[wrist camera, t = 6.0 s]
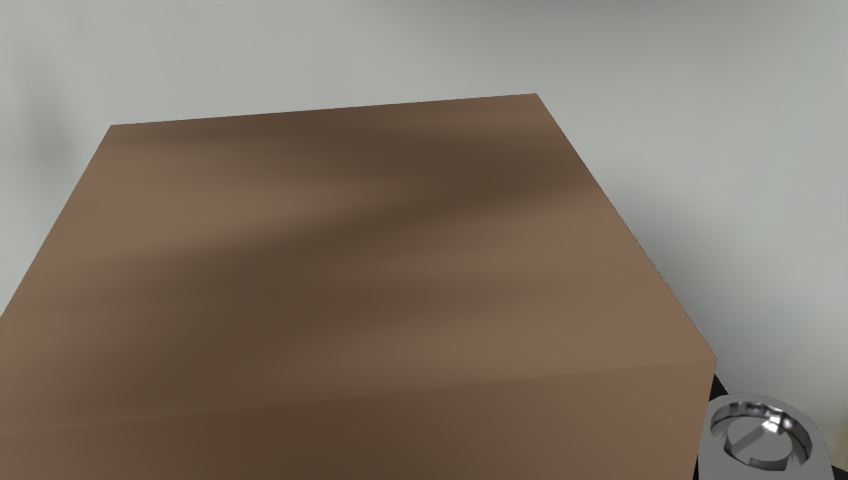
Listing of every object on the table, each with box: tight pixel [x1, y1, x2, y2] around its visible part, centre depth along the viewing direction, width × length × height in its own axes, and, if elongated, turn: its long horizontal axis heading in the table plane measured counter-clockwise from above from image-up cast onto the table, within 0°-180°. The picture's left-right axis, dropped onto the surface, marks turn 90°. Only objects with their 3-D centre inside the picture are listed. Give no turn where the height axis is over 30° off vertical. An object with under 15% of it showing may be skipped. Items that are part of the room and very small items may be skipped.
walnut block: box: [0, 93, 717, 480], centre depth 10 cm, size 6×6×6 cm
